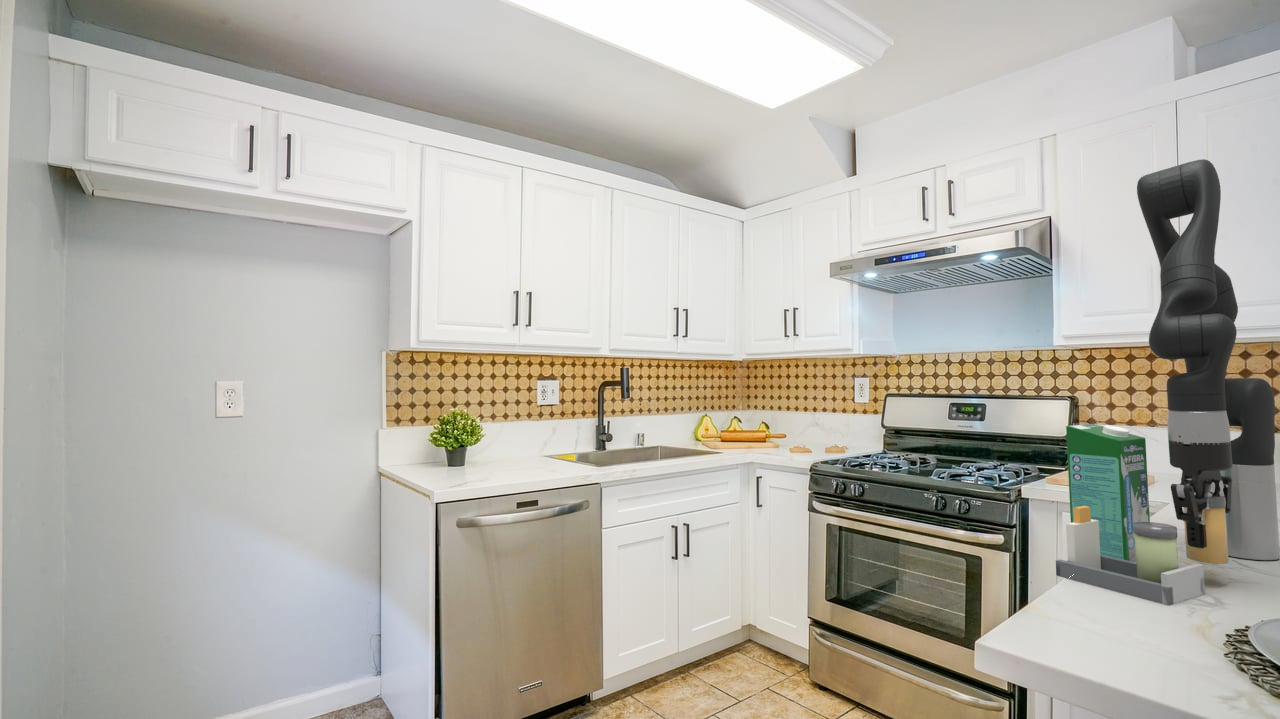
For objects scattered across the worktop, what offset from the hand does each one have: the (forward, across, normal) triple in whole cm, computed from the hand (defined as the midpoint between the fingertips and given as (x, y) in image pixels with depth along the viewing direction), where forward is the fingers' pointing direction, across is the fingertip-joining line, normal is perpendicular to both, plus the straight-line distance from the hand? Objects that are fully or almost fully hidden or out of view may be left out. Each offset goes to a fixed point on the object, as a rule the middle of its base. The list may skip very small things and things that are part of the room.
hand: (1206, 543), depth 100 cm
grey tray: (+7, +12, -5) cm, 14 cm away
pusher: (+6, +11, -12) cm, 18 cm away
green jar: (+6, +12, -2) cm, 13 cm away
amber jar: (+2, 0, 0) cm, 2 cm away
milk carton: (+7, -4, -16) cm, 19 cm away
